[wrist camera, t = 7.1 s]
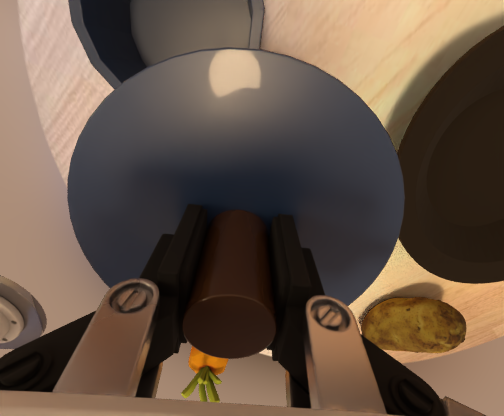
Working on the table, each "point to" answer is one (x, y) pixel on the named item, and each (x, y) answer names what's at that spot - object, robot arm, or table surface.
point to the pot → (160, 30)
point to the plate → (458, 170)
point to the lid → (236, 183)
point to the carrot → (205, 374)
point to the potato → (414, 325)
